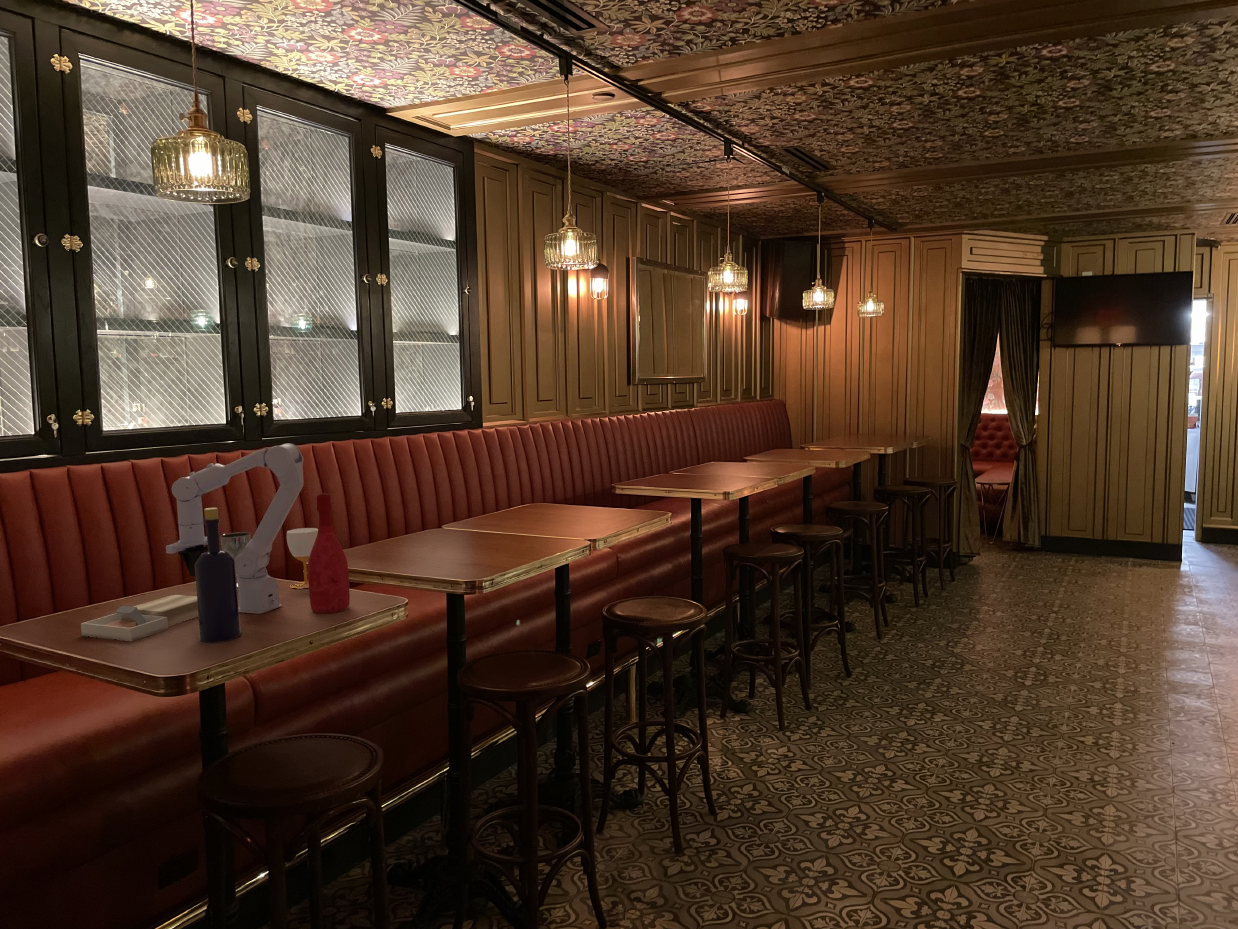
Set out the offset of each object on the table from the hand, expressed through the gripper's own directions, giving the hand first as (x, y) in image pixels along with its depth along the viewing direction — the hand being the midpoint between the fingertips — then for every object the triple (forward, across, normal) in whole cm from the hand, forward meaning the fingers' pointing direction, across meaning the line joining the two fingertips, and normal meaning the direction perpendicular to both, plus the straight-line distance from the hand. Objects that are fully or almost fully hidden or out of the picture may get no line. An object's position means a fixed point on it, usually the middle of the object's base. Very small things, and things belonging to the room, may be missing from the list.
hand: (195, 575), depth 223 cm
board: (+9, +7, -2) cm, 12 cm away
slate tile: (+6, +17, -2) cm, 18 cm away
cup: (+10, -31, +8) cm, 33 cm away
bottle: (+10, +16, +24) cm, 30 cm away
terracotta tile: (+7, +21, -2) cm, 22 cm away
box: (+9, +20, -2) cm, 22 cm away
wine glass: (+10, -26, -12) cm, 30 cm away
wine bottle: (+10, -11, +33) cm, 36 cm away
